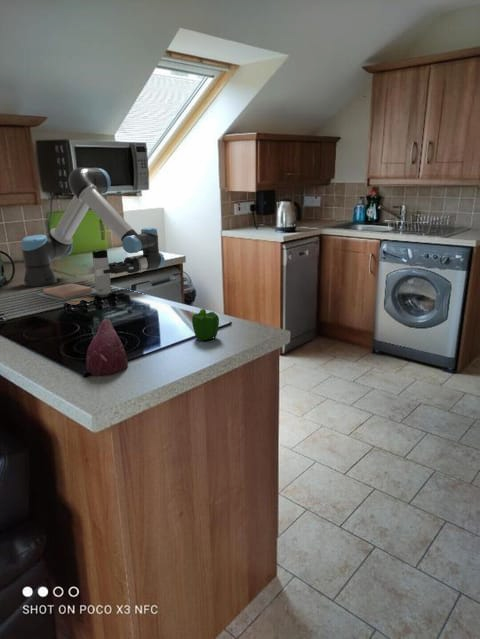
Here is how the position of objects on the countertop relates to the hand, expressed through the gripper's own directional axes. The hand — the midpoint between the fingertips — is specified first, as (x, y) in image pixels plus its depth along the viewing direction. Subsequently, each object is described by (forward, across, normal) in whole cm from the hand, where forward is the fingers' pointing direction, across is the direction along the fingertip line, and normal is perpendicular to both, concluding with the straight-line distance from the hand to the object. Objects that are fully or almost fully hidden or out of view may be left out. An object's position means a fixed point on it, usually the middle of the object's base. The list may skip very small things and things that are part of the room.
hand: (91, 272), depth 197 cm
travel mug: (-5, 0, -11) cm, 12 cm away
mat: (+2, +15, -11) cm, 19 cm away
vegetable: (+45, -73, -11) cm, 86 cm away
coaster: (+9, -5, -11) cm, 15 cm away
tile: (-3, +15, -9) cm, 18 cm away
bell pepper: (+11, -78, -11) cm, 79 cm away
